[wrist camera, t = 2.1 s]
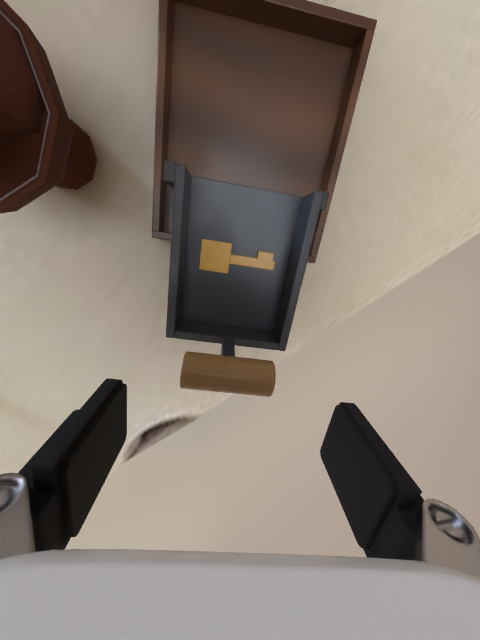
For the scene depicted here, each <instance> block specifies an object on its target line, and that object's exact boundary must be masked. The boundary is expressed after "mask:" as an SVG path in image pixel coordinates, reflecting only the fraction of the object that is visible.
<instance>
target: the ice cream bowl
mask: <svg viewBox="0 0 480 640" xmlns="http://www.w3.org/2000/svg"><path fill="white" fill-rule="evenodd" d="M96 162H97V158H96V155H95V152H94V149H93V146H92V143H91V140H90V137H89V136H88V135H87V134H86V133H85V132H84V131H83V130H82V129H81V128H80V127H79V126H78V125H77V124H76V123H75V122H74V121H73V120H72V119H69V118H68V115H67V112H66V109H65V106H64V103H63V100H62V97H61V95H60V92H59V89H58V86H57V83H56V80H55V77H54V74H53V71H52V69H51V66H50V63H49V61H48V58H47V55H46V52H45V50H44V49H43V47H42V46H41V44H40V43H39V41H38V40H37V38H36V37H35V35H34V34H33V32H32V31H31V29H30V28H29V26H28V25H27V24H26V23H25V22H24V21H23V20H22V19H21V18H20V17H19V16H18V15H17V14H16V13H15V12H14V10H13V9H12V8H11V7H10V6H9V5H8V4H7V3H6V2H5V1H4V0H0V213H6V212H13V211H17V210H19V209H20V208H22V207H24V206H25V205H27V204H28V203H30V202H31V201H33V200H34V199H36V198H38V197H39V196H41V195H42V194H44V193H45V192H47V191H48V190H50V189H51V188H53V187H54V186H57V187H63V188H69V189H75V190H77V189H78V188H80V187H82V186H83V185H85V184H86V183H88V182H89V181H91V180H92V178H93V174H94V170H95V166H96Z"/></svg>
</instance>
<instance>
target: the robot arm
mask: <svg viewBox="0 0 480 640" xmlns="http://www.w3.org/2000/svg"><path fill="white" fill-rule="evenodd" d="M126 435H127V385H126V384H123V382H122V380H117V379H106V380H105V381H104V382H103V383H102V384H101V385H100V387H99V388H98V389H97V390H96V391H95V392H94V394H93V395H92V396H91V397H90V398H89V399H88V401H87V402H86V403H85V404H84V405H83V406H82V407H81V409H80V410H75V411H73V412H72V413H71V414H70V415H69V417H68V418H67V419H66V420H65V421H64V422H63V423H62V424H61V425H60V427H59V428H58V429H57V430H56V431H55V432H54V433H53V434H52V436H51V437H50V438H49V439H48V440H47V441H46V442H45V443H44V445H43V446H42V447H41V448H40V449H39V450H38V451H37V452H36V454H35V455H34V456H33V457H32V458H31V459H30V460H29V461H28V462H27V464H26V465H25V466H24V467H23V468H22V469H21V470H20V471H19V473H18V474H17V473H7V474H1V475H0V640H480V539H479V536H478V534H477V532H476V531H475V530H474V528H473V526H472V525H471V524H470V523H469V522H468V521H467V520H466V519H465V518H464V517H463V516H462V515H461V514H460V513H459V512H458V511H456V510H455V509H453V508H452V507H451V506H449V505H448V504H445V503H443V502H441V501H439V500H435V499H427V500H425V501H424V500H423V498H422V497H421V496H420V494H421V493H422V491H421V490H420V488H419V487H418V486H417V484H416V483H415V482H414V481H413V479H412V478H411V477H410V475H409V474H408V473H407V471H406V470H405V469H404V467H403V466H402V465H401V464H400V462H399V461H398V460H397V458H396V457H395V456H394V454H393V453H392V452H391V451H390V450H389V448H388V447H387V445H386V444H385V443H384V441H383V440H382V439H381V438H380V436H379V435H378V434H377V432H376V431H375V429H374V428H373V427H372V426H371V424H370V423H369V422H368V421H367V419H366V418H365V416H364V415H363V414H362V413H361V411H360V410H359V409H358V407H357V406H356V405H355V404H353V403H344V402H341V403H340V404H339V405H337V406H336V407H335V409H334V412H333V415H332V418H331V421H330V424H329V427H328V429H327V432H326V435H325V438H324V441H323V444H322V447H321V451H320V453H321V458H322V461H323V463H324V465H325V468H326V470H327V472H328V475H329V477H330V479H331V482H332V484H333V486H334V489H335V491H336V494H337V496H338V498H339V501H340V503H341V505H342V507H343V510H344V512H345V515H346V517H347V519H348V522H349V524H350V526H351V529H352V531H353V533H354V536H355V538H356V540H357V543H358V544H359V546H360V547H361V548H363V549H364V551H365V554H366V556H367V557H342V556H318V555H291V554H264V553H233V552H202V551H166V550H129V549H127V550H124V549H121V550H120V549H71V550H69V549H68V550H64V549H65V548H66V546H67V544H68V542H69V540H70V538H71V537H75V536H77V534H78V533H79V531H80V529H81V527H82V525H83V523H84V521H85V519H86V517H87V515H88V513H89V511H90V509H91V508H92V505H93V504H94V502H95V499H96V498H97V496H98V494H99V492H100V490H101V487H102V486H103V484H104V482H105V480H106V478H107V476H108V474H109V472H110V470H111V468H112V466H113V464H114V462H115V460H116V458H117V456H118V454H119V452H120V450H121V448H122V446H123V444H124V442H125V439H126Z"/></svg>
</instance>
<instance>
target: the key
mask: <svg viewBox="0 0 480 640" xmlns="http://www.w3.org/2000/svg"><path fill="white" fill-rule="evenodd" d="M231 248H232V243H226V242H220V241H214V240H208V239H202V243H201V253H200V263H199V269H200V270H207V271H214V272H220V273H228V270H229V263H230V264H235V265H241V266H248V267H254V268H261V269H267V270H274V265H275V261H273V256H274V253H270V252H264V251H258V253H257V258H254V257H248V256H241V255H235V254H231Z"/></svg>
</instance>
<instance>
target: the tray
mask: <svg viewBox="0 0 480 640" xmlns="http://www.w3.org/2000/svg"><path fill="white" fill-rule="evenodd" d="M376 23H377V20H374V19H371V18H367V17H364V16H360V15H356V14H353V13H349V12H346V11H342V10H339V9H335V8H331V7H328V6H324V5H321V4H317V3H314V2H310V1H306V0H159V18H158V51H157V85H156V119H155V153H154V187H153V220H152V237H153V238H159V239H165V240H171V236H172V218H173V200H174V182H175V165H176V164H181V165H185V166H186V167H187V169H188V171H189V172H190V174H191V176H196V177H201V178H207V179H212V180H217V181H222V182H228V183H233V184H238V185H243V186H249V187H254V188H259V189H265V190H270V191H275V192H280V193H286V194H291V195H296V196H302V197H304V196H306V195H308V194H310V193H312V192H314V191H320V192H324V195H323V199H322V203H321V207H320V211H319V215H318V219H317V223H316V227H315V231H314V235H313V239H312V244H311V248H310V252H309V256H308V260H307V262H309V263H315V261H316V257H317V253H318V249H319V245H320V241H321V237H322V233H323V230H324V226H325V222H326V218H327V214H328V210H329V206H330V202H331V198H332V195H333V191H334V187H335V183H336V179H337V175H338V171H339V167H340V163H341V159H342V156H343V152H344V148H345V144H346V140H347V136H348V132H349V128H350V124H351V121H352V117H353V113H354V109H355V105H356V101H357V97H358V93H359V89H360V85H361V82H362V78H363V74H364V70H365V66H366V62H367V58H368V54H369V50H370V47H371V43H372V39H373V35H374V30H375V27H376Z"/></svg>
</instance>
